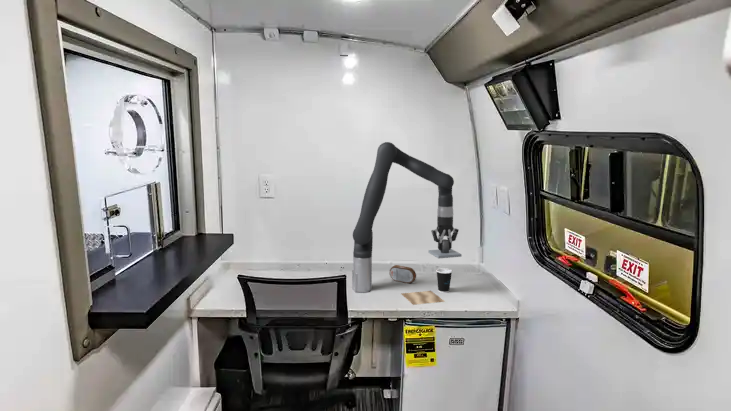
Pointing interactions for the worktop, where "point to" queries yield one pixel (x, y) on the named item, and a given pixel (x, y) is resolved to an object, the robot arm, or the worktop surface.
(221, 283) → the worktop surface
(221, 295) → the worktop surface
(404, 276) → the tin
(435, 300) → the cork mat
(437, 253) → the lid
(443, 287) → the dixie cup
